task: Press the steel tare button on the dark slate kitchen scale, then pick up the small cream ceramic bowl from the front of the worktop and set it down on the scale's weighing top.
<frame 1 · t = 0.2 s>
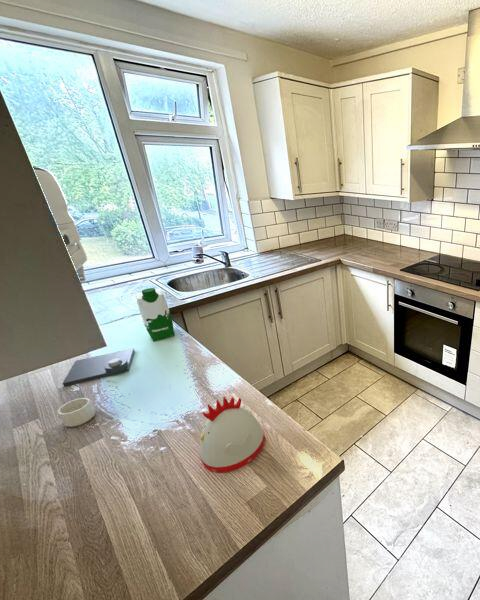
hand: (76, 287, 86), 34 cm above the countertop, tool pointing down, fingers open, 8 cm apart
tare button: (115, 362, 107), point 3 cm above the countertop, slide at 0.1 cm
scale: (102, 367, 110), on the countertop
bowl: (80, 419, 88), on the countertop
kitchen timer: (234, 448, 80), on the countertop
milk carton: (163, 335, 130), on the countertop
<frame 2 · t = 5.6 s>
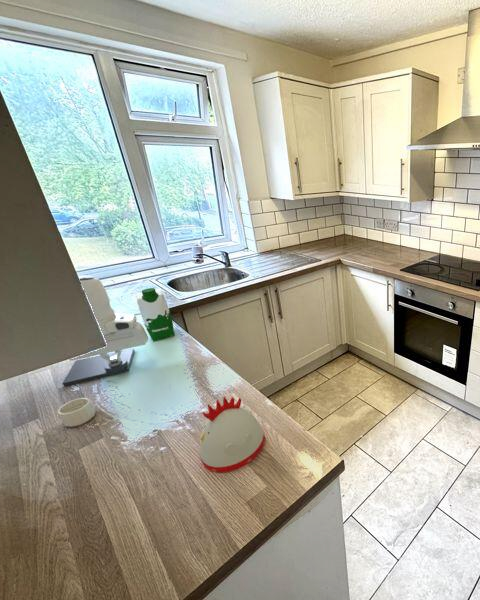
hand: (115, 362, 107), 3 cm above the countertop, tool pointing down, fingers closed, pressing on tare button
tare button: (115, 364, 107), point 3 cm above the countertop, slide at -0.7 cm, touching gripper
everything else where it was.
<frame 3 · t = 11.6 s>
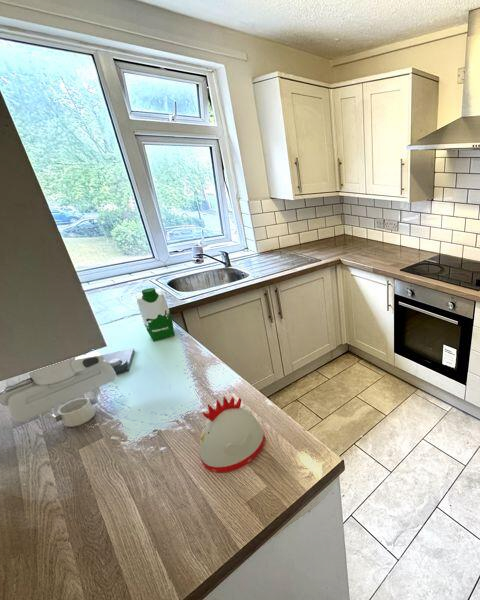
hand: (77, 411, 87), 3 cm above the countertop, tool pointing down, fingers closed on bowl, 6 cm apart
tare button: (115, 362, 107), point 3 cm above the countertop, slide at 0.1 cm
bowl: (80, 419, 88), on the countertop, touching gripper
everything else where it was.
when the fingers open (4 cm above the countertop, at t = 19.4 s): bowl stays where it is, resting on scale.
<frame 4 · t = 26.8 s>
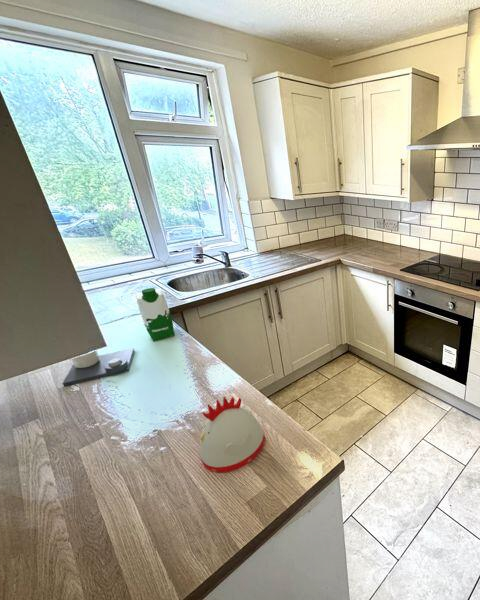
bowl: (87, 363, 110), point 1 cm above the countertop, touching scale
everything else where it was.
at the end: tare button pushed in 0.9 cm at the most during the clip, back to where it started at the end; bowl inside the target area on the scale (4.9 cm from its centre), point 1.4 cm above the scale's base; bowl touching scale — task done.
